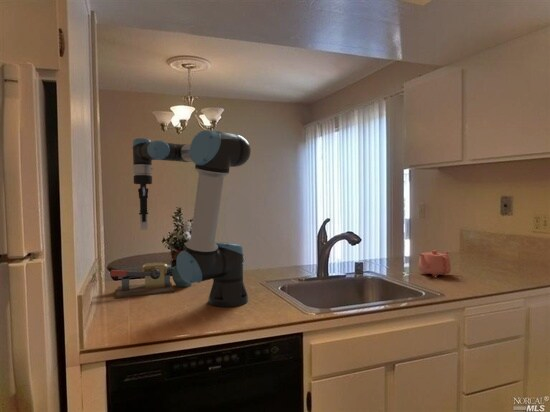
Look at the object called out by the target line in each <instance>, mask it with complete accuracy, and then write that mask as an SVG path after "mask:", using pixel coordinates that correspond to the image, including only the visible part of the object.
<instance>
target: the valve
mask: <svg viewBox="0 0 550 412" xmlns="http://www.w3.org/2000/svg"><path fill="white" fill-rule="evenodd" d="M171 268H172V267H171V264H167V263H164V262H161V261H160V262H148V263H147V262H146V263H144V264H141V266H135V267H122V268H117V270H127V271H144V272H151V271H152V270H153V269H157V270H159V271H160V277H159V278H158V279H152V278H151V276H117V279H118V280H119V279H120V280H121V286H122V291H125V290H129V289H130V285H131V284H130V279H133V278H141V279H142V280H143V279H144V284H145V289H151V288H162V287H166V286H170V282H171V275H172V271H171Z"/></svg>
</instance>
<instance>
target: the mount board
mask: <svg viewBox="0 0 550 412" xmlns="http://www.w3.org/2000/svg"><path fill="white" fill-rule="evenodd" d="M116 288H117V289H116V295H115V299H120V298H124V299H125V298H131V297H132V298H133V297H140V296H141V297H143V296H150V295H161V294H171V293H175V289H174V286H173V285H172V281H170V286H166V287H162V288H151V289H145V283H143V284H130V289H129V290H125V291H122V285H119V286H117V287H116Z"/></svg>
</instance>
